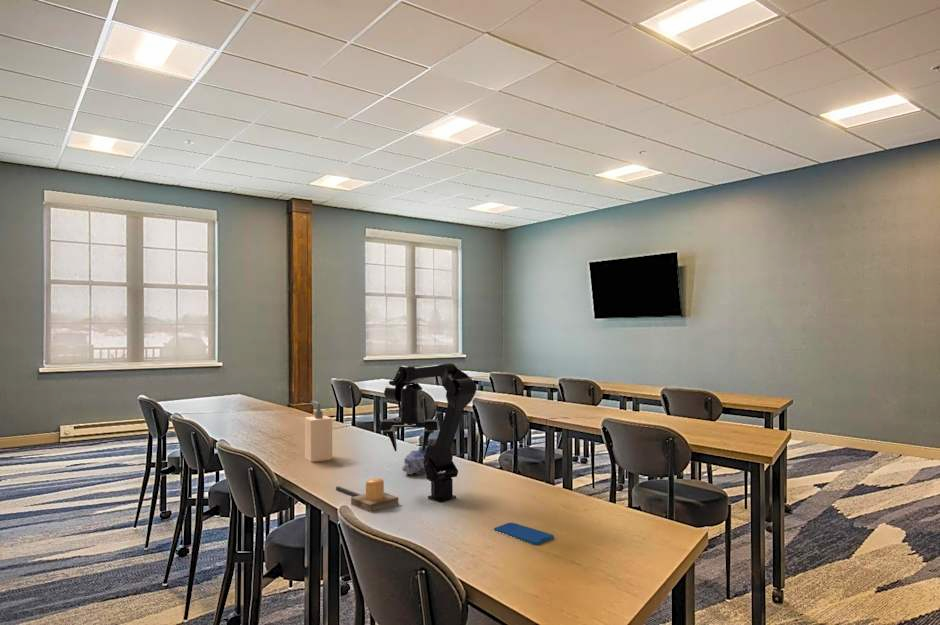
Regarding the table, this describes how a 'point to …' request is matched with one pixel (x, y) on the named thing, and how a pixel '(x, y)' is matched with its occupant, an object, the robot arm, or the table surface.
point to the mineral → (415, 461)
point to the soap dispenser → (318, 436)
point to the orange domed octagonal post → (374, 489)
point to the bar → (347, 491)
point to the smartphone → (524, 533)
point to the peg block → (374, 502)
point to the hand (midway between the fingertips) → (409, 451)
